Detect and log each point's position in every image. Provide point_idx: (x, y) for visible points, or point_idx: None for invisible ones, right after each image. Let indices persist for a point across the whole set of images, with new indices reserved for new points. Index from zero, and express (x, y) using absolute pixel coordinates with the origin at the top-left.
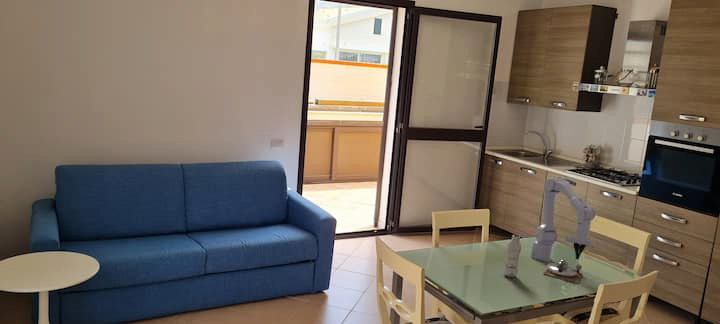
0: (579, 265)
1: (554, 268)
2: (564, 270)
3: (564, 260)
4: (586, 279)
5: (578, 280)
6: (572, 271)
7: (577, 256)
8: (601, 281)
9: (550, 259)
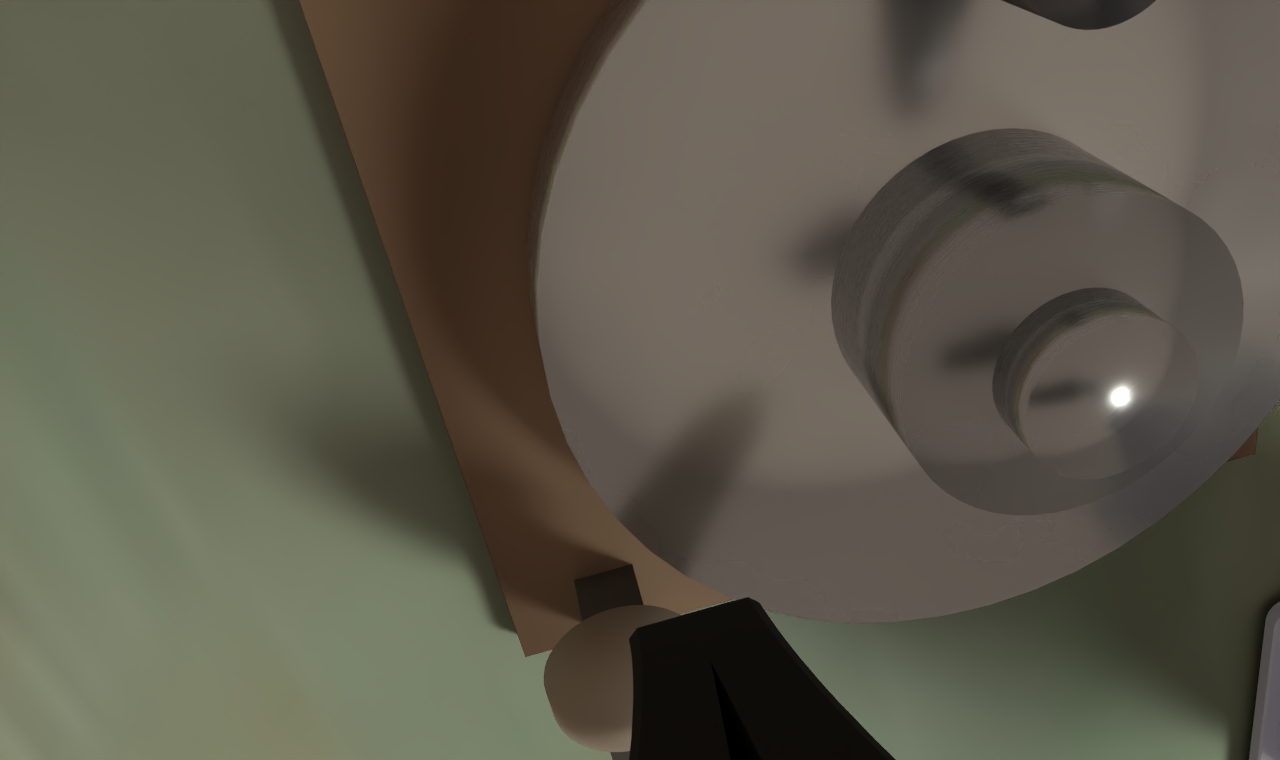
0: (619, 707)
1: (1158, 27)
2: (867, 161)
3: (1075, 456)
4: (291, 436)
5: (330, 42)
6: (661, 319)
7: (728, 714)
8: (7, 650)
9: (1260, 737)
